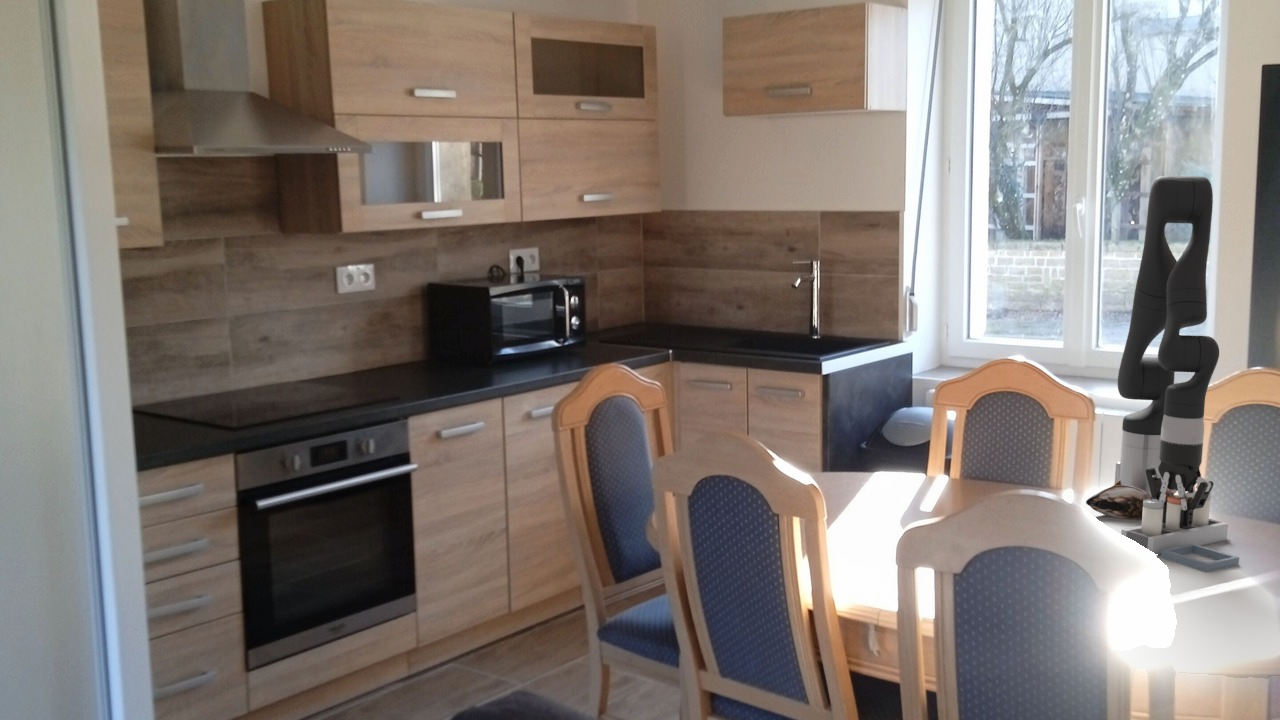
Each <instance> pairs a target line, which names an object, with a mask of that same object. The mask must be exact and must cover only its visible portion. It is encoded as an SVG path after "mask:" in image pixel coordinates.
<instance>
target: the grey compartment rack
mask: <svg viewBox="0 0 1280 720" xmlns="http://www.w3.org/2000/svg"><path fill="white" fill-rule="evenodd" d="M1141 526H1142V525H1138V526H1132V527H1127V528H1121V532H1120V535H1121V534H1122V535H1124V536H1126V537H1128V538H1130V539H1132V540H1134V541H1136V542H1137V543H1139V544H1140V545H1142V546H1144V547H1145V548H1147V549H1149V550H1150V551H1152V552H1154V553H1155V554H1158V556H1157V557H1161V554H1162V550H1164V549H1169V548H1174V547H1178V546H1183V545H1188V544H1196V545H1199V546H1202V547H1206V546H1212V545H1215V544H1221V543H1225V542H1229V541H1231V539H1229V538H1228V527H1229V524H1228V523H1227V522H1223V521H1219V520H1215V519H1212V518H1209V525H1207V526H1202V527H1198V526H1194V525H1191V526H1190V527H1189V528H1187V529H1185V530H1182V531H1177V532H1175V531H1172V530H1168V529H1165V524H1164V523H1162V533H1161V535H1157V536H1153V537H1151V536H1148V535H1144V534H1141Z"/></svg>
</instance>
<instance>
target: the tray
mask: <svg viewBox="0 0 1280 720" xmlns="http://www.w3.org/2000/svg"><path fill="white" fill-rule="evenodd" d="M1193 553H1194V554H1196V555H1199V556H1203V557H1205V558H1210V559H1213V561H1203V560H1201V559H1196V558H1193V557H1190V556H1187V555H1188V554H1193ZM1160 557H1161V558H1162V559H1164V560H1166V561H1167V560H1168V561H1171V562H1174V563H1178V564H1181V565H1184V566H1187V567H1191V568H1193V569H1196V570H1198V571H1199V570H1200V571H1203V572H1206V573H1210V572H1214V571H1215V572H1216V571H1218V570H1222V569H1228V568H1231V567H1237V566H1240V557H1239V556H1236V555H1233V554H1229V553H1226V552H1222V551H1219V550H1215V549H1212V548H1209V547H1206V546H1199V545H1196V544H1188V545H1183V546H1178V547H1174V548H1169V549H1164V550H1162V554H1161V556H1160Z"/></svg>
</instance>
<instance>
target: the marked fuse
mask: <svg viewBox="0 0 1280 720" xmlns="http://www.w3.org/2000/svg"><path fill="white" fill-rule="evenodd" d="M1181 510H1183V509H1182V506H1181V499H1180V498H1179V495H1178V494H1177V495H1176V494H1174V495H1169V496H1167V510H1166V523H1165V529H1168V530H1172V531H1175V532H1177V531H1182V530H1185V529H1182V528H1180V515H1181Z"/></svg>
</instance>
